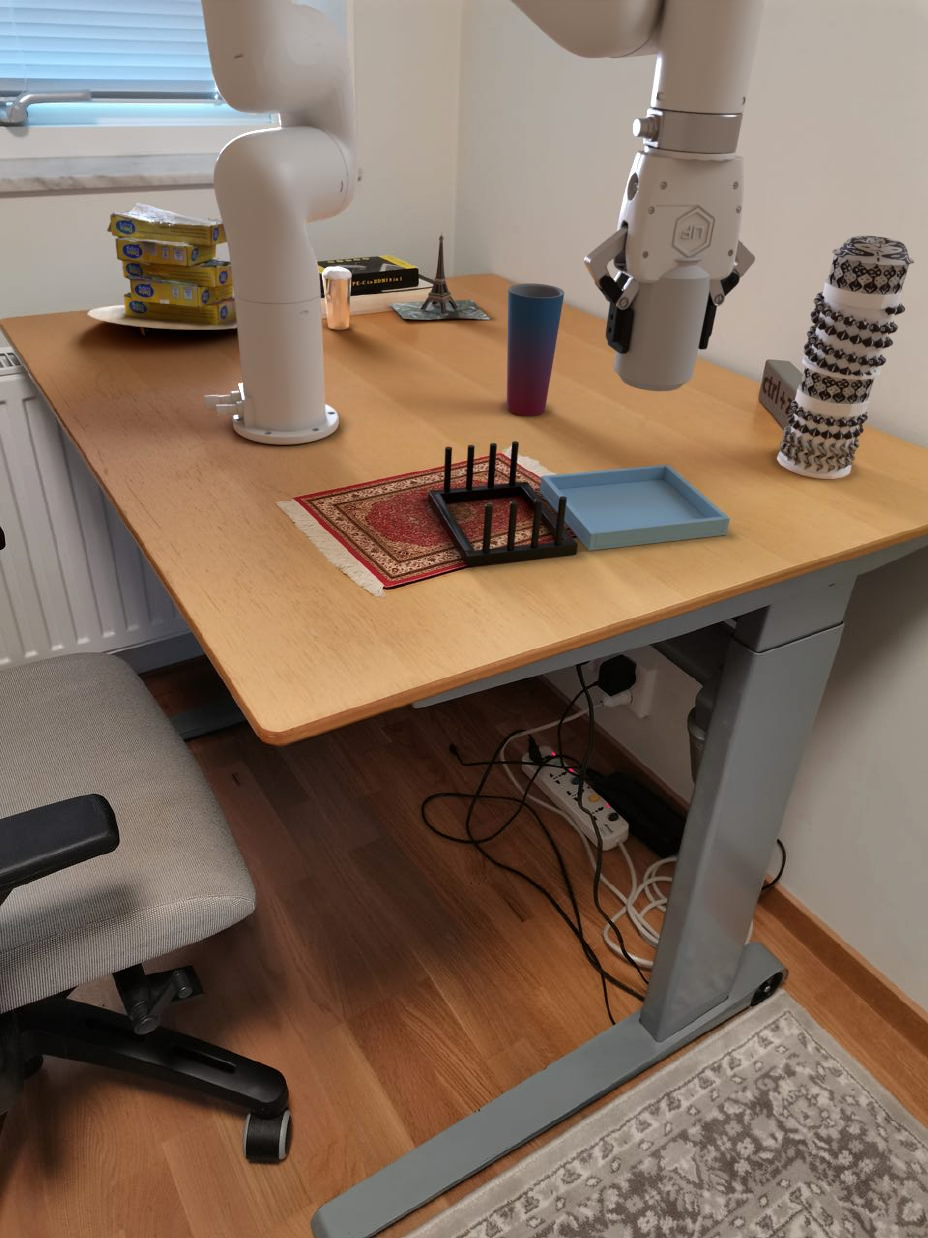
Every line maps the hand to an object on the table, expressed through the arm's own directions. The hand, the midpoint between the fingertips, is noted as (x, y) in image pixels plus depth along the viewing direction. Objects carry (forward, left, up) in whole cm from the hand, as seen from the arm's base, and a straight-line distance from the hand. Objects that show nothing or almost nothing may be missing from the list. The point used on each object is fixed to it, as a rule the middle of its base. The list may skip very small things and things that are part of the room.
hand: (657, 345), depth 85 cm
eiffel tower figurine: (+1, +75, -18) cm, 77 cm away
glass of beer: (-17, +69, -18) cm, 73 cm away
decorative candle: (+28, +7, -18) cm, 33 cm away
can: (0, 0, -3) cm, 3 cm away
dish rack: (-14, 0, -17) cm, 23 cm away
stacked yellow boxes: (-42, +72, -18) cm, 85 cm away
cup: (0, +30, -18) cm, 35 cm away
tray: (0, 0, -17) cm, 17 cm away
